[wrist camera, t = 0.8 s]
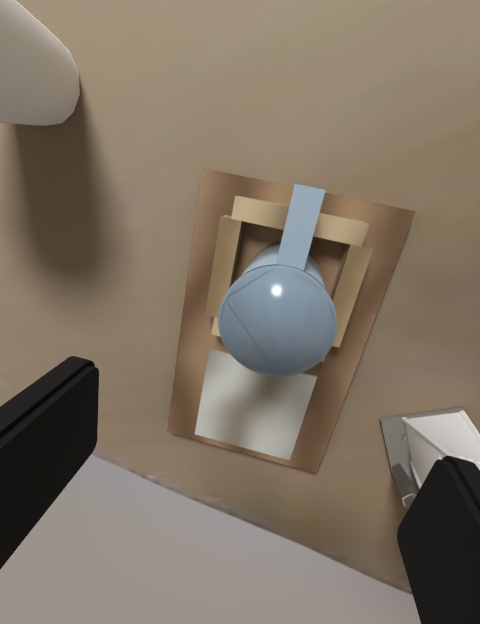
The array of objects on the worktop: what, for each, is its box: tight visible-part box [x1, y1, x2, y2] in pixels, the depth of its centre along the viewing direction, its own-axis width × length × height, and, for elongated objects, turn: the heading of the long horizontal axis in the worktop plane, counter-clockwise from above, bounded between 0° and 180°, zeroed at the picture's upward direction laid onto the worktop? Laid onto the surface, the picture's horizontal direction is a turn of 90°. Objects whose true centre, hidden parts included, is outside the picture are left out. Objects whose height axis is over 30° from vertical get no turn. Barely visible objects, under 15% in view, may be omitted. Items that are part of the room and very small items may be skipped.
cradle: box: [205, 196, 373, 362], centre depth 26 cm, size 11×11×2 cm
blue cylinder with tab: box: [218, 184, 337, 377], centre depth 21 cm, size 10×6×10 cm, turn 169°
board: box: [167, 168, 415, 473], centre depth 29 cm, size 16×26×2 cm, turn 169°
